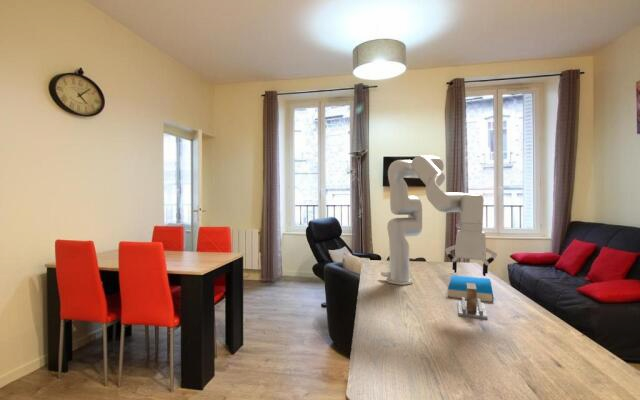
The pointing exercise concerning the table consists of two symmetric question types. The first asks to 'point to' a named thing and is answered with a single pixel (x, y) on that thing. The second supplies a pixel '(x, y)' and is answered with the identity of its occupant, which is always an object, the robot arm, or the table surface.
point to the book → (460, 287)
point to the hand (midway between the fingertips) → (469, 273)
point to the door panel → (471, 297)
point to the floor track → (479, 314)
